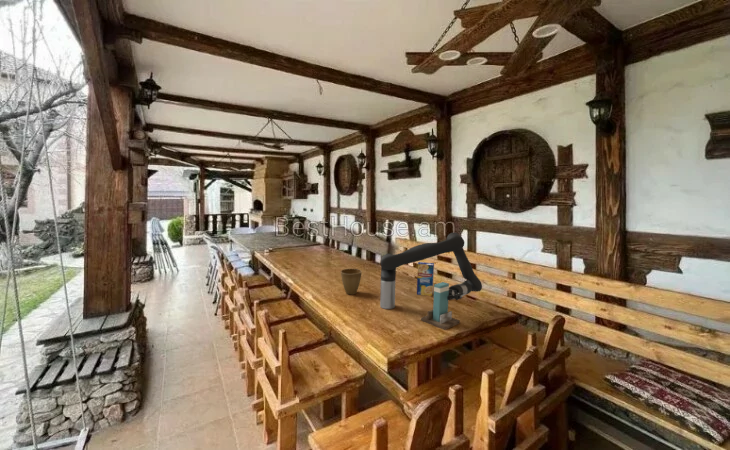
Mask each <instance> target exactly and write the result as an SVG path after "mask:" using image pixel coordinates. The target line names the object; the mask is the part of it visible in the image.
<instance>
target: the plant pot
mask: <svg viewBox="0 0 730 450" xmlns="http://www.w3.org/2000/svg"><path fill="white" fill-rule="evenodd" d="M362 272H363V271H362V270H361V269H358V268H343V269H342V270H340V276H341V277H340V278H341V282H342V285H343V289H344V291H345V294H347V295H355V294H357V293H358V289H359V286H360V282H361V279H362Z"/></svg>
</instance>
